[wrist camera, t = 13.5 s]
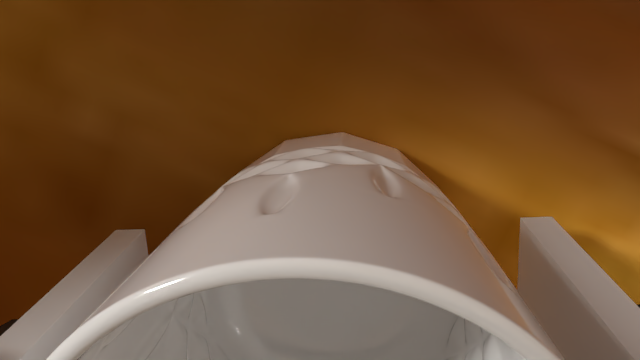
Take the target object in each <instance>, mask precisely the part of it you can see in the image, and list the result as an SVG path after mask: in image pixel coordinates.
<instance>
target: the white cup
mask: <svg viewBox="0 0 640 360" xmlns="http://www.w3.org/2000/svg"><path fill="white" fill-rule="evenodd" d="M46 360H566V359H565V357H564V356H563V354H562V353H561V352H560V350H559V349H558V347H557V346H556V345H555V343H554V342H553V340H552V339H551V338H550V336H549V335H548V333H547V332H546V331H545V329H544V328H543V326H542V325H541V324H540V322H539V321H538V319H537V318H536V316H535V315H534V314H533V312H532V311H531V309H530V308H529V306H528V305H527V304H526V302H525V301H524V299H523V298H522V296H521V295H520V294H519V292H518V291H517V289H516V288H515V286H514V285H513V283H512V282H511V281H510V279H509V278H508V276H507V275H506V273H505V272H504V270H503V269H502V268H501V266H500V265H499V263H498V262H497V260H496V259H495V257H494V256H493V255H492V253H491V252H490V251H489V249H488V248H487V247H486V245H485V244H484V243H483V242H482V240H481V239H480V238H479V237H478V236H477V234H476V233H475V232H474V231H473V229H472V228H471V227H470V225H469V224H468V222H467V221H466V220H465V219H464V217H463V216H462V215H461V214H460V212H459V211H458V210H457V209H456V207H455V206H454V205H453V204H452V203H451V201H450V200H449V199H448V198H447V197H446V196H445V195H444V194H443V193H442V191H441V190H440V189H439V187H438V186H437V185H436V184H435V183H434V182H432V181H431V180H430V179H429V178H428V177H427V176H426V175H425V174H424V173H423V172H422V171H421V170H420V169H419V168H417V167H416V166H415V165H414V164H413V163H412V162H411V161H410V160H409V159H408V158H407V157H406V156H405V155H403V154H402V153H401V152H400V151H399V150H398V149H396V148H393V147H390V146H386V145H383V144H380V143H377V142H373V141H370V140H367V139H364V138H360V137H357V136H354V135H350V134H347V133H344V132H339V133H332V134H325V135H318V136H311V137H304V138H297V139H290V140H285V141H284V142H282V143H281V144H279V145H278V146H276V147H275V148H273V149H272V150H270V151H269V152H267V153H266V154H264V155H263V156H262V157H260V158H259V159H257V160H256V161H254V162H253V163H251V164H250V165H248V166H247V167H245V168H244V169H242V170H241V171H240V172H239V173H238V174H236V175H235V176H234V177H232V178H231V179H230V180H228V181H227V182H226V183H225V184H224V185H222V186H221V187H220V188H219V189H218V190H217V191H216V192H215V193H214V194H212V195H211V196H210V197H209V198H208V199H207V200H205V201H204V202H203V203H202V204H201V205H200V206H199V207H197V208H196V209H195V210H194V211H193V212H192V213H191V214H190V215H189V216H188V217H187V218H186V219H185V220H184V221H183V222H182V223H181V224H180V225H179V226H177V227H176V228H175V230H174V231H173V232H172V233H171V234H170V235H169V236H168V237H167V238H166V239H165V240H164V241H163V242H162V243H161V244H160V245H159V246H158V247H157V248H156V249H155V250H154V251H153V252H152V253H151V254H150V255H149V256H148V257H147V258H146V259H145V260H144V261H143V262H142V263H141V264H140V265H139V266H138V267H137V268H136V269H135V270H134V271H133V272H132V273H131V274H130V275H129V276H128V277H127V278H126V279H125V280H124V281H123V282H122V283H121V284H120V285H119V286H118V287H117V288H116V289H115V290H114V291H113V292H112V293H111V294H110V295H109V296H108V297H107V298H106V299H105V300H104V301H103V302H102V303H101V304H100V305H99V306H98V307H97V308H96V309H95V310H94V311H93V312H92V313H91V314H90V315H89V316H88V317H87V318H86V319H85V320H84V321H83V322H82V323H81V324H80V325H79V326H78V327H77V328H76V329H75V330H74V331H73V332H72V333H71V334H70V335H69V336H68V337H67V338H66V339H65V340H64V341H63V342H62V343H61V344H60V345H59V346H58V347H57V348H56V349H55V350H54V351H53V352H52V353H51V354H50V355H49V356H48V358H47V359H46Z"/></svg>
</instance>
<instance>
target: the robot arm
mask: <svg viewBox="0 0 640 360" xmlns="http://www.w3.org/2000/svg"><path fill="white" fill-rule="evenodd" d="M147 257H148V249H147V242H146V235H145V229H132V230H115V231H114V232H113V233H112V234H111V235H110V236H109V237H108V238H107V239H106V240H104V241H103V242H102V243H101V244H100V245H99V246H98V247H97V248H96V249H95V250H94V251H92V252H91V253H90V254H89V255H88V256H87V257H86V258H85V259H84V260H83V261H82V262H81V263H79V264H78V265H77V266H76V267H75V268H74V269H73V270H72V271H71V272H70V273H69V274H67V275H66V276H65V277H64V278H63V279H62V280H61V281H60V282H59V283H58V284H57V285H55V286H54V287H53V288H52V289H51V290H50V291H49V292H48V293H47V294H46V295H45V296H44V297H42V298H41V299H40V300H39V301H38V302H37V303H36V304H35V305H34V306H33V307H32V308H30V309H29V310H28V311H27V312H26V313H25V314H24V315H23V316H22V317H21V318H20V319H15V320H11V321H9V322H7V323H5V324H3V325H1V326H0V360H46V359H47V358H48V356H49V355H50V354H51V353H52V352H53V351H54V350H55V349H56V348H57V347H58V346H59V345H60V344H61V343H62V342H63V341H64V340H65V339H66V338H67V337H68V336H69V335H70V334H71V333H72V332H73V331H74V330H75V329H76V328H77V327H78V326H79V325H80V324H81V323H82V322H83V321H84V320H85V319H86V318H87V317H88V316H89V315H90V314H91V313H92V312H93V311H94V310H95V309H96V308H97V307H98V306H99V305H100V304H101V303H102V302H103V301H104V300H105V299H106V298H107V297H108V296H109V295H110V294H111V293H112V292H113V291H114V290H115V289H116V288H117V287H118V286H119V285H120V284H121V283H122V282H123V281H124V280H125V279H126V278H127V277H128V276H129V275H130V274H131V273H132V272H133V271H134V270H135V269H136V268H137V267H138V266H139V265H140V264H141V263H142V262H143V261H144V260H145V259H146V258H147ZM517 291H518V292H519V294H520V295H521V296H522V298H523V299H524V301H525V302H526V304H527V305H528V306H529V308H530V309H531V311H532V312H533V314H534V315H535V316H536V318H537V319H538V321H539V322H540V324H541V325H542V326H543V328H544V329H545V331H546V332H547V333H548V335H549V336H550V338H551V339H552V340H553V342H554V343H555V345H556V346H557V347H558V349H559V350H560V352H561V353H562V354H563V356H564V357H565V359H566V360H640V305H636V304H635V303H634V302H633V301H632V299H631V298H630V297H629V296H628V295H627V294H626V293H625V292H624V291H623V290H622V289H621V288H620V287H619V286H618V285H617V284H616V283H615V282H614V281H613V280H612V279H611V278H610V277H609V276H608V275H607V274H606V272H605V271H604V270H603V269H602V268H601V267H600V266H599V265H598V264H597V263H596V262H595V261H594V260H593V259H592V258H591V257H590V256H589V255H588V254H587V253H586V252H585V251H584V250H583V249H582V248H581V246H580V245H579V244H578V243H577V242H576V241H575V240H574V239H573V238H572V237H571V236H570V235H569V234H568V233H567V232H566V231H565V230H564V229H563V228H562V227H561V226H560V225H559V224H558V223H557V222H556V221H555V219H554V218H553V217H524V218H520V237H519V263H518V289H517Z"/></svg>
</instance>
